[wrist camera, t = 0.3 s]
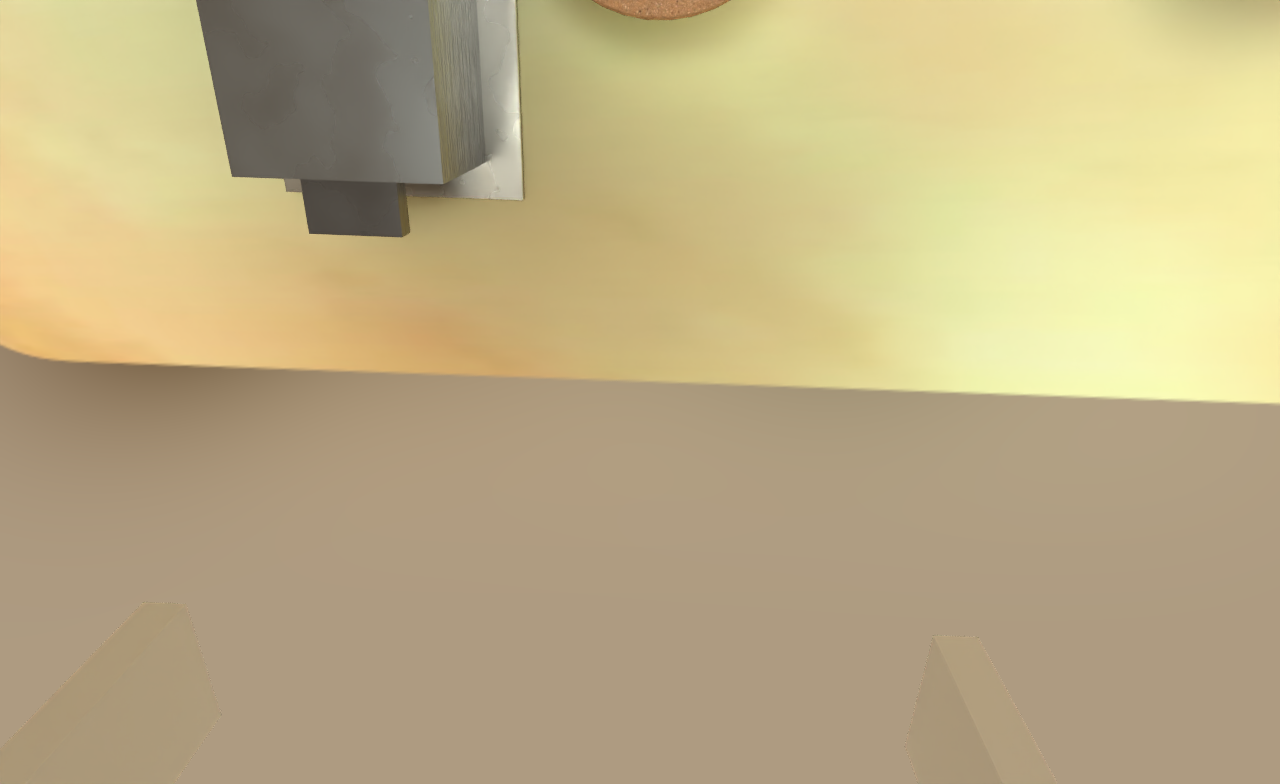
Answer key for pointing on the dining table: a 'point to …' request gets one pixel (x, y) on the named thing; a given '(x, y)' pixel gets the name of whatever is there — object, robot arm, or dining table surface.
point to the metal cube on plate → (369, 102)
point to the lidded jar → (660, 8)
